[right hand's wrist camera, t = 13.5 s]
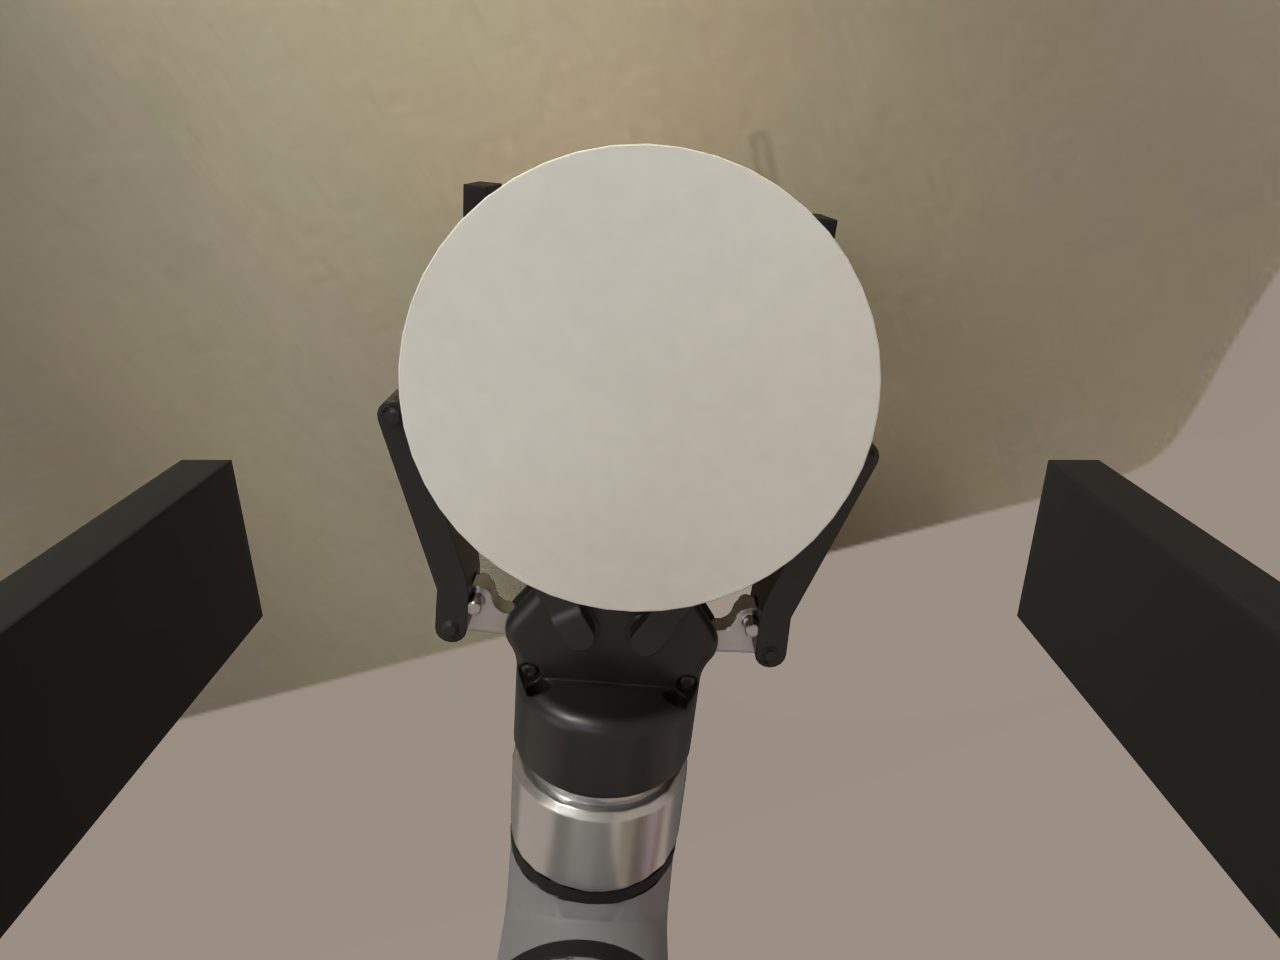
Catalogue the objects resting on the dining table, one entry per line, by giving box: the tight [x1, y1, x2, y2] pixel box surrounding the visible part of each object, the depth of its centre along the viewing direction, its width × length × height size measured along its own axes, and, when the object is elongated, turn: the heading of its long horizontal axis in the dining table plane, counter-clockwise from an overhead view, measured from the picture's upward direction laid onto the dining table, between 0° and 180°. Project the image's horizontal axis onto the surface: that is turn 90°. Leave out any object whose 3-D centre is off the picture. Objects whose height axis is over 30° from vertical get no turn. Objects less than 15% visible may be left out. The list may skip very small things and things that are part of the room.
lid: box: [398, 144, 881, 612], centre depth 20 cm, size 12×12×2 cm
